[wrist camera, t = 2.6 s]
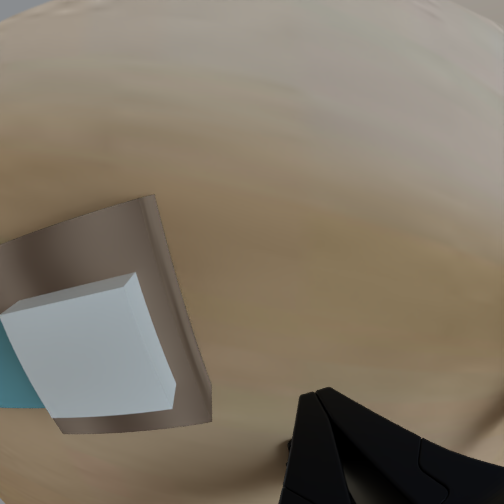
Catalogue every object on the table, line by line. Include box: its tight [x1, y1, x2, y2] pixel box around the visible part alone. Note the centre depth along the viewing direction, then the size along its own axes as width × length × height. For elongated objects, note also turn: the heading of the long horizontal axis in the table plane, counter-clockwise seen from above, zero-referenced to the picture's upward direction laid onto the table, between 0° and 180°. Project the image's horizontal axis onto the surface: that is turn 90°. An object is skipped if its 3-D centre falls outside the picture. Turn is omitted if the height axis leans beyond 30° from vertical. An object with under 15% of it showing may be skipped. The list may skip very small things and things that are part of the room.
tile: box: [0, 272, 176, 418], centre depth 13 cm, size 7×6×2 cm
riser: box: [0, 194, 212, 434], centre depth 15 cm, size 10×12×4 cm
